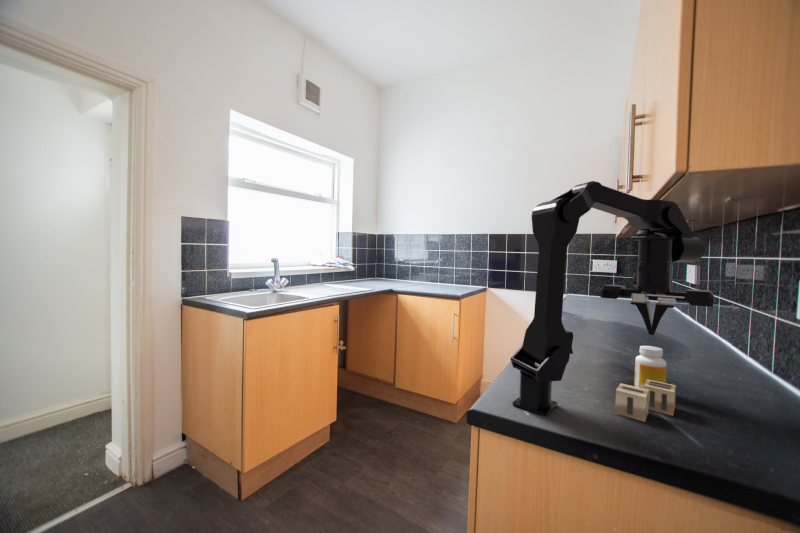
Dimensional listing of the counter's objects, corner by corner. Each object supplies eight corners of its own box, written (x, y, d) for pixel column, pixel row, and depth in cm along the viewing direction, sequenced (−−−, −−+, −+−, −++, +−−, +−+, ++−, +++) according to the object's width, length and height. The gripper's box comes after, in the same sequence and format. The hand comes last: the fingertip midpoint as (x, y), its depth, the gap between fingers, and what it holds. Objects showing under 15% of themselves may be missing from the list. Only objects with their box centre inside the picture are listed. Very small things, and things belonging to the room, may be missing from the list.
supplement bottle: (672, 398, 69) (674, 351, 69) (645, 397, 69) (647, 351, 69) (652, 387, 74) (654, 344, 74) (628, 387, 74) (630, 344, 74)
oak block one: (644, 422, 59) (645, 396, 58) (614, 414, 62) (615, 389, 61) (648, 413, 62) (649, 389, 62) (619, 406, 65) (620, 382, 65)
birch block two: (673, 416, 61) (674, 391, 61) (642, 408, 64) (643, 384, 64) (674, 408, 64) (675, 384, 64) (646, 401, 67) (646, 378, 67)
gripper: (713, 262, 71) (710, 335, 71) (611, 261, 83) (609, 323, 84) (715, 263, 62) (711, 345, 63) (600, 261, 75) (598, 330, 75)
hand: (651, 334), depth 71 cm, fingers closed
